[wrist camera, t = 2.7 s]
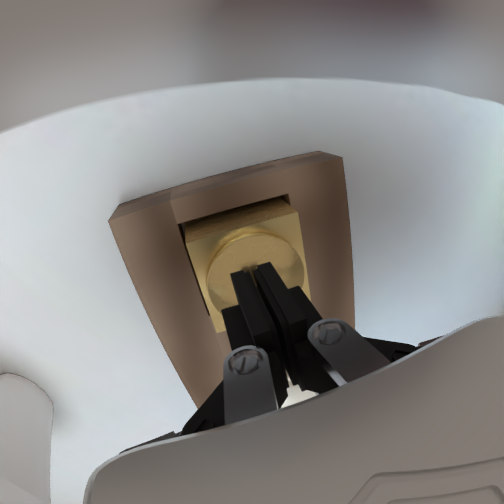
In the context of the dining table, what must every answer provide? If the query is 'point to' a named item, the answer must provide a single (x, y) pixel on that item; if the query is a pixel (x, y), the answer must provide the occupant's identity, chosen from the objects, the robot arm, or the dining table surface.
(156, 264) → the button panel
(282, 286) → the robot arm
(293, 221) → the brass button
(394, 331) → the dining table surface
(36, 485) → the foam cup
